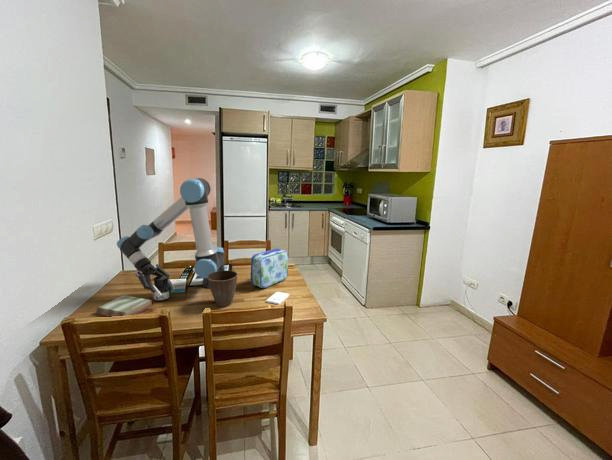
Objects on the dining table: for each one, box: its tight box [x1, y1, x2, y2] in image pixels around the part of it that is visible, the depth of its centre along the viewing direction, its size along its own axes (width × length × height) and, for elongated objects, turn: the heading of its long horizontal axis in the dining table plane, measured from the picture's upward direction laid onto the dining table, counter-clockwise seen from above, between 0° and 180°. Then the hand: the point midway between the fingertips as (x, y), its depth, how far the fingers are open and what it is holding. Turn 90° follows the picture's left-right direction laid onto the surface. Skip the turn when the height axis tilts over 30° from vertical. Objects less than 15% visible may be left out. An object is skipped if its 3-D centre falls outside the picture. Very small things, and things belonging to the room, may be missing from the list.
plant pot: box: [207, 269, 238, 308], centre depth 149 cm, size 15×15×16 cm
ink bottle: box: [152, 276, 172, 303], centre depth 154 cm, size 10×9×12 cm
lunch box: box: [250, 248, 289, 289], centre depth 177 cm, size 26×11×21 cm, turn 143°
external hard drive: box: [265, 291, 290, 305], centre depth 157 cm, size 2×8×12 cm
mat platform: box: [96, 294, 153, 317], centre depth 143 cm, size 18×15×4 cm
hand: (166, 292), depth 154 cm, fingers closed on ink bottle, 9 cm apart
